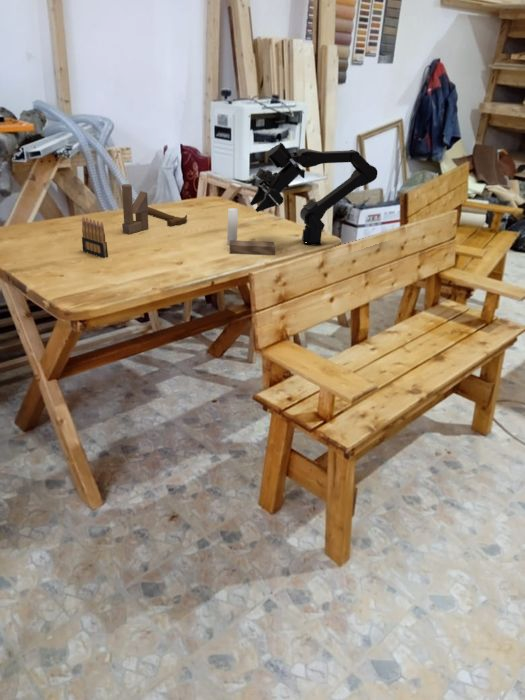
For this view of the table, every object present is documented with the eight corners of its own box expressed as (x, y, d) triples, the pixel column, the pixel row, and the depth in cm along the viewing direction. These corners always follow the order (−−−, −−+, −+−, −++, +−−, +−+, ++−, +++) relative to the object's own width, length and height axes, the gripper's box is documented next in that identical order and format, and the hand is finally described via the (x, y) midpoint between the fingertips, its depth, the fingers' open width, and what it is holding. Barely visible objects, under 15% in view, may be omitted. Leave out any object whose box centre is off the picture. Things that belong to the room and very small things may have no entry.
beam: (273, 249, 206) (273, 241, 205) (274, 254, 201) (275, 246, 200) (229, 248, 205) (229, 240, 204) (229, 253, 200) (230, 245, 198)
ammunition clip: (82, 251, 193) (79, 216, 187) (86, 250, 194) (83, 215, 189) (104, 258, 188) (101, 222, 182) (108, 256, 189) (105, 221, 184)
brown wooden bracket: (148, 229, 221) (147, 182, 212) (129, 234, 213) (126, 186, 204) (142, 227, 223) (139, 180, 214) (122, 232, 214) (119, 184, 206)
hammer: (128, 211, 243) (171, 228, 225) (127, 204, 242) (171, 220, 224) (150, 208, 251) (193, 223, 233) (150, 201, 249) (193, 216, 232)
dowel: (236, 242, 211) (237, 208, 205) (236, 245, 208) (238, 210, 202) (227, 242, 211) (228, 208, 205) (227, 245, 208) (228, 210, 202)
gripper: (264, 156, 206) (233, 186, 209) (277, 165, 190) (243, 198, 193) (283, 178, 212) (253, 207, 214) (297, 189, 196) (264, 220, 199)
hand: (253, 207), depth 205 cm, fingers open, 9 cm apart
